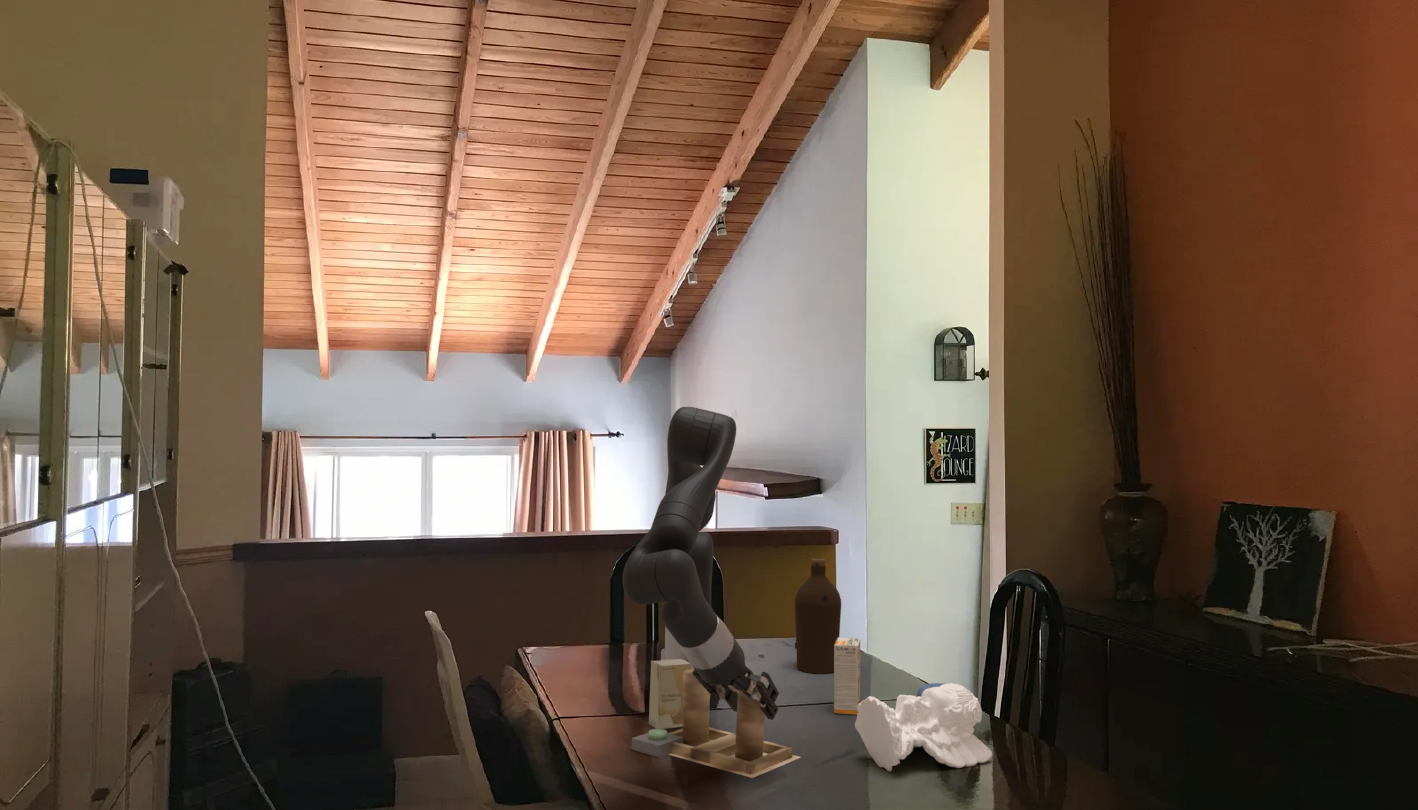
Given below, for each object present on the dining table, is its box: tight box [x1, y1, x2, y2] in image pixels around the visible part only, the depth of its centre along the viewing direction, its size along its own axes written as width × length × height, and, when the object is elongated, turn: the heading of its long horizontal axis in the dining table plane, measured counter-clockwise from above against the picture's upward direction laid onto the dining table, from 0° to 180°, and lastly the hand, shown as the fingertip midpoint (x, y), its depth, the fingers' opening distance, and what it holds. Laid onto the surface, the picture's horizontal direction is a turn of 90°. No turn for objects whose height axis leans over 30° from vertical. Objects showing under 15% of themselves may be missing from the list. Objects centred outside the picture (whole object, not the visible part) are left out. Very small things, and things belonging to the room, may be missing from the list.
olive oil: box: [794, 558, 842, 675], centre depth 225 cm, size 11×11×25 cm
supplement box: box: [833, 637, 861, 716], centre depth 191 cm, size 8×5×13 cm, turn 168°
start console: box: [631, 728, 684, 758], centre depth 160 cm, size 6×6×4 cm
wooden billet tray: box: [666, 726, 802, 779], centre depth 159 cm, size 22×13×3 cm, turn 51°
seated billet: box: [682, 669, 711, 747], centre depth 162 cm, size 4×4×12 cm
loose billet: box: [735, 682, 766, 761], centre depth 155 cm, size 4×4×12 cm
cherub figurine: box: [854, 682, 993, 772], centre depth 161 cm, size 13×12×20 cm
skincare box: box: [648, 659, 691, 730], centre depth 175 cm, size 6×4×12 cm
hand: (755, 710), depth 157 cm, fingers open, 6 cm apart
